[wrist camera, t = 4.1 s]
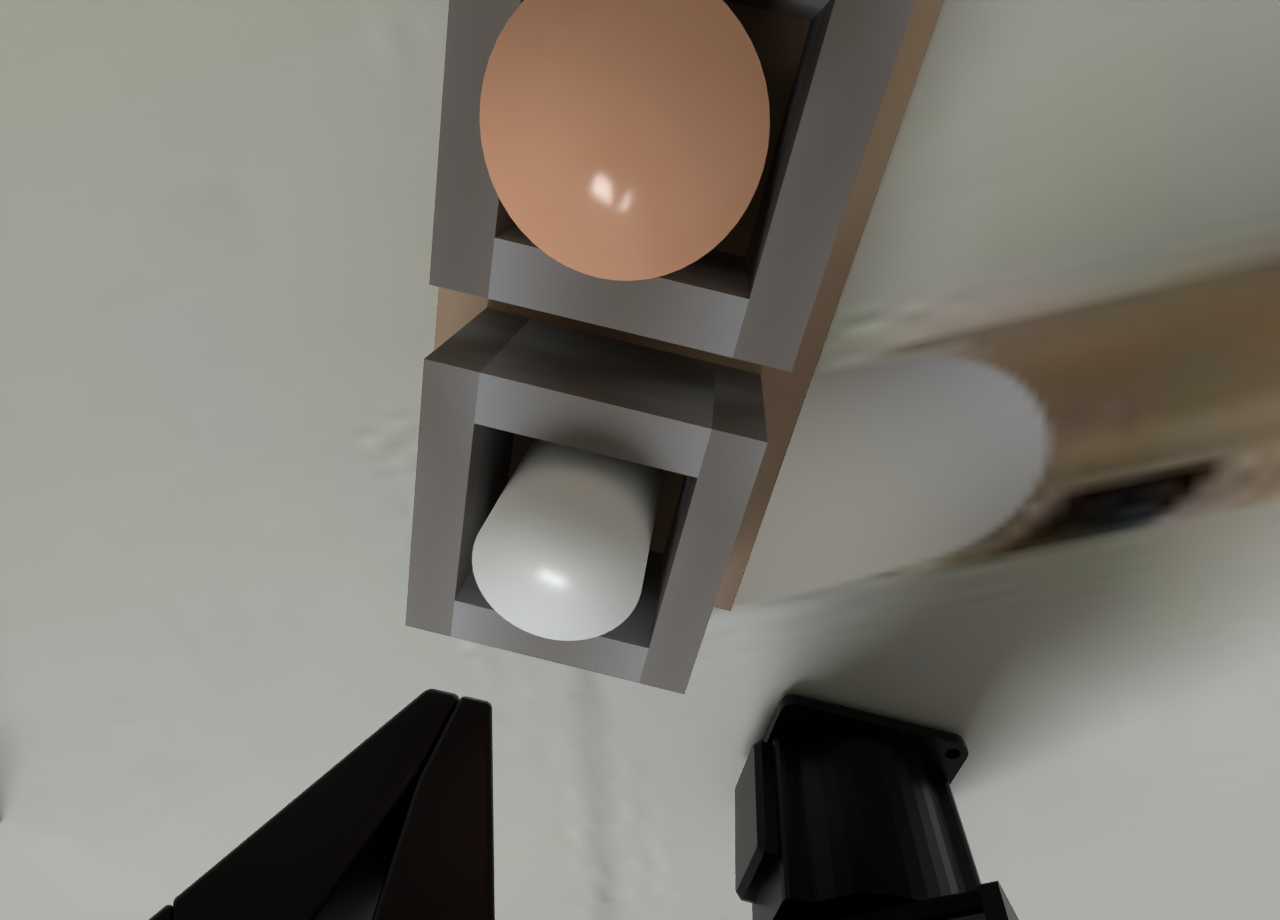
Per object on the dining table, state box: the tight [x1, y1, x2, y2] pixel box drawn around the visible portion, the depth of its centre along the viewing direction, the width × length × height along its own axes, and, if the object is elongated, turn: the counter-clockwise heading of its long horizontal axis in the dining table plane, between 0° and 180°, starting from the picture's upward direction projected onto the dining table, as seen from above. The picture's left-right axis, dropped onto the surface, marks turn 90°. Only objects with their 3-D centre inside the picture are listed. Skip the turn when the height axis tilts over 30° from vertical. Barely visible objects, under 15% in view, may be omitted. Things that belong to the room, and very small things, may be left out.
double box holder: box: [406, 0, 944, 694], centre depth 17 cm, size 10×17×5 cm, turn 168°
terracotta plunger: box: [480, 0, 770, 281], centre depth 11 cm, size 4×4×5 cm
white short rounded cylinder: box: [472, 438, 663, 641], centre depth 18 cm, size 4×4×5 cm
